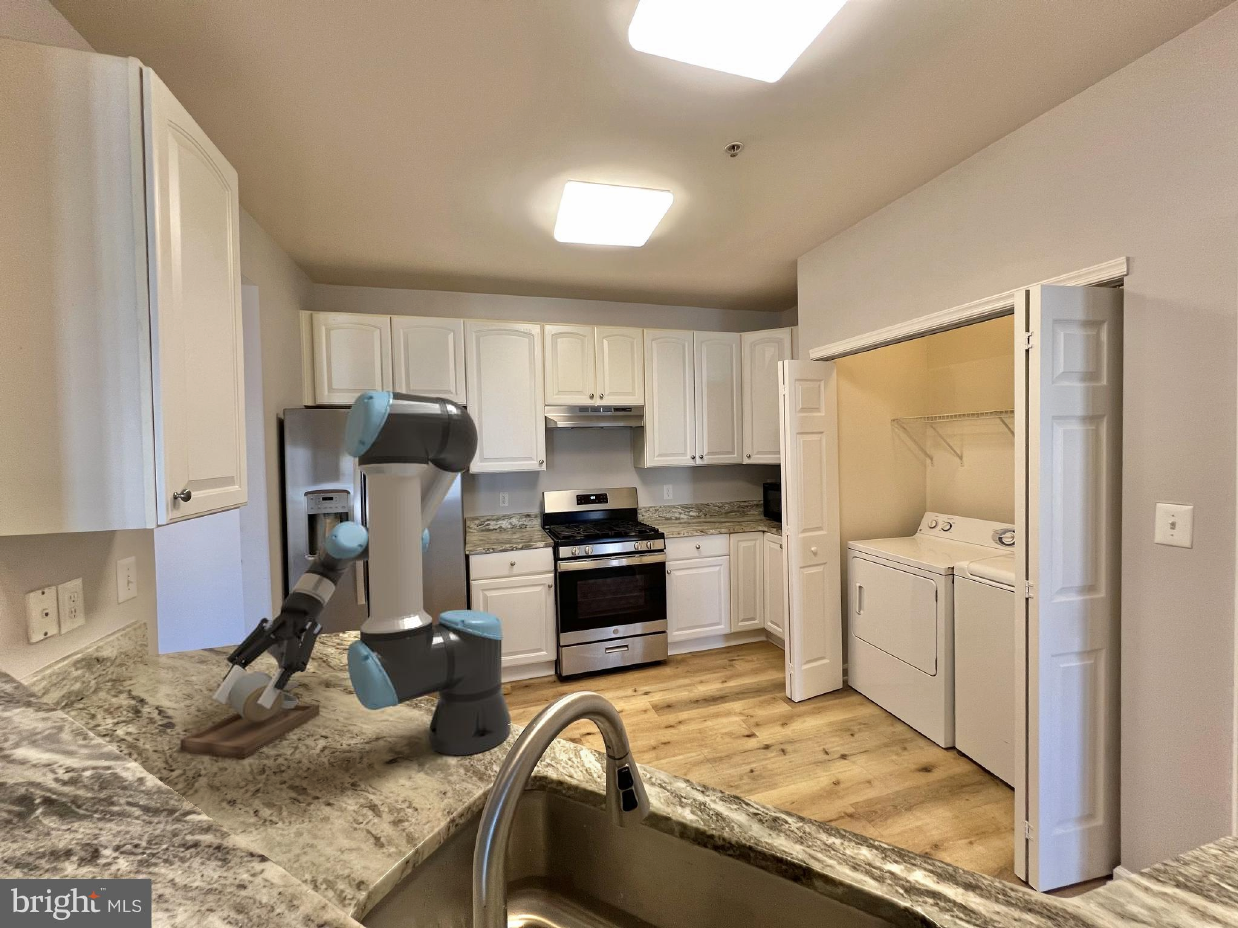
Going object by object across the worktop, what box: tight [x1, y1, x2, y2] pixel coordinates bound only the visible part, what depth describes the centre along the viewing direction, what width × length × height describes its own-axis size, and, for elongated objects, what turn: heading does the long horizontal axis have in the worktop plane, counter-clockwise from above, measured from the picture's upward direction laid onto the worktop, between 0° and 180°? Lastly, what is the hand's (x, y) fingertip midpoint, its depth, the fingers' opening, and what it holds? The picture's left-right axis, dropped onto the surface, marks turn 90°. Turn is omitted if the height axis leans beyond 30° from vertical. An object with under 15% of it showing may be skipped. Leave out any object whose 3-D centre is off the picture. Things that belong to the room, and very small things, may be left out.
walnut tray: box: [180, 702, 321, 760], centre depth 99 cm, size 14×17×2 cm
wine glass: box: [265, 634, 300, 692], centre depth 121 cm, size 8×8×15 cm
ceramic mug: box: [228, 671, 299, 722], centre depth 101 cm, size 11×8×8 cm
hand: (240, 703), depth 97 cm, fingers closed on ceramic mug, 9 cm apart
